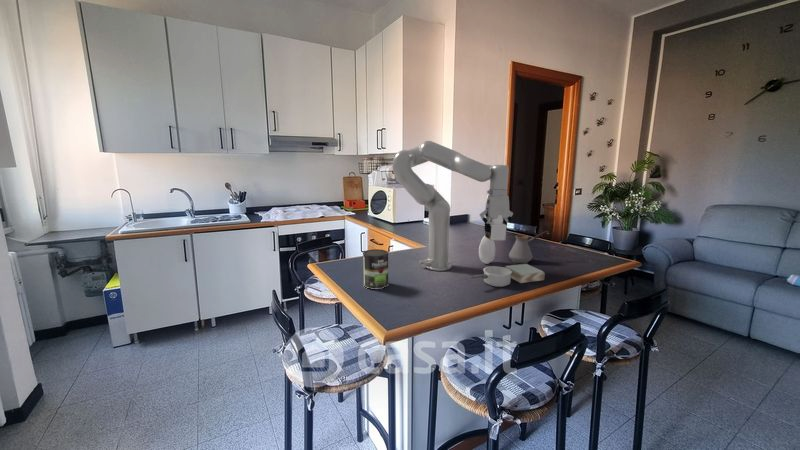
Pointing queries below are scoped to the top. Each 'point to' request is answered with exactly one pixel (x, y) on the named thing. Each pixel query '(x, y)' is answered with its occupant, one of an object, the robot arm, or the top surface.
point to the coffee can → (375, 268)
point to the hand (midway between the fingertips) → (495, 231)
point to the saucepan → (496, 276)
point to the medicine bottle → (496, 229)
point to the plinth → (525, 273)
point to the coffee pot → (522, 249)
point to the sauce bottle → (486, 250)
